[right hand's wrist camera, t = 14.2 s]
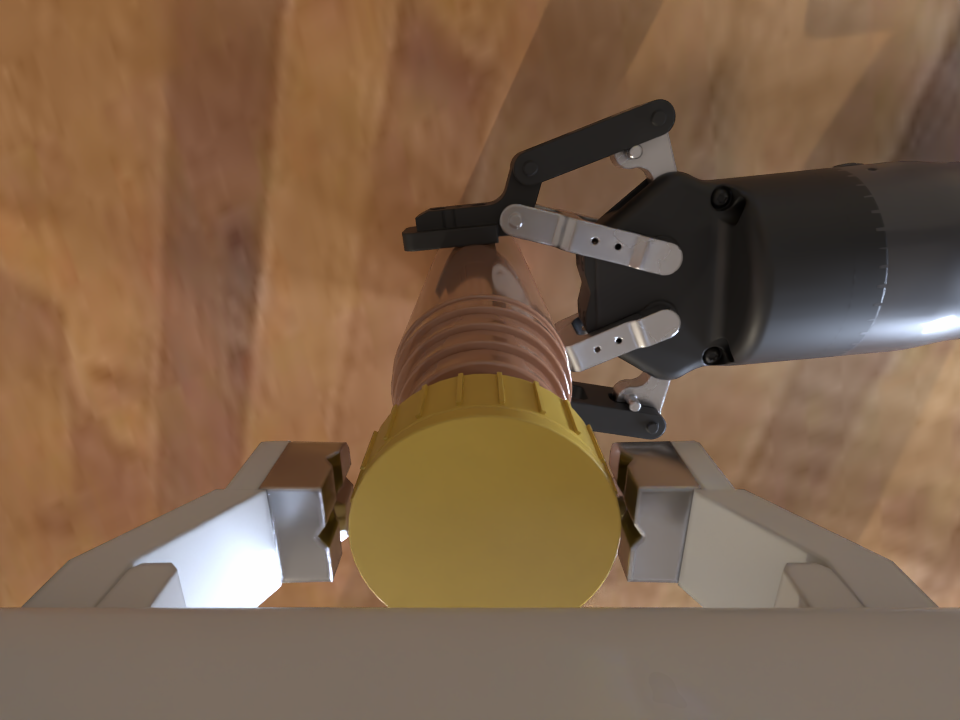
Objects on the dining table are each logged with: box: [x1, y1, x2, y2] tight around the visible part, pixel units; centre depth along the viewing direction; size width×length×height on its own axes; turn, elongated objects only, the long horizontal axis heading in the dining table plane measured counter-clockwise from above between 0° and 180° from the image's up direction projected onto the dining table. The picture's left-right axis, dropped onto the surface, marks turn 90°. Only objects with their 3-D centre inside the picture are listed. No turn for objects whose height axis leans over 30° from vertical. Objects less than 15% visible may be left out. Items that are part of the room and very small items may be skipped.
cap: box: [348, 372, 621, 608], centre depth 9 cm, size 4×4×2 cm
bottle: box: [391, 236, 572, 406], centre depth 19 cm, size 5×5×21 cm
